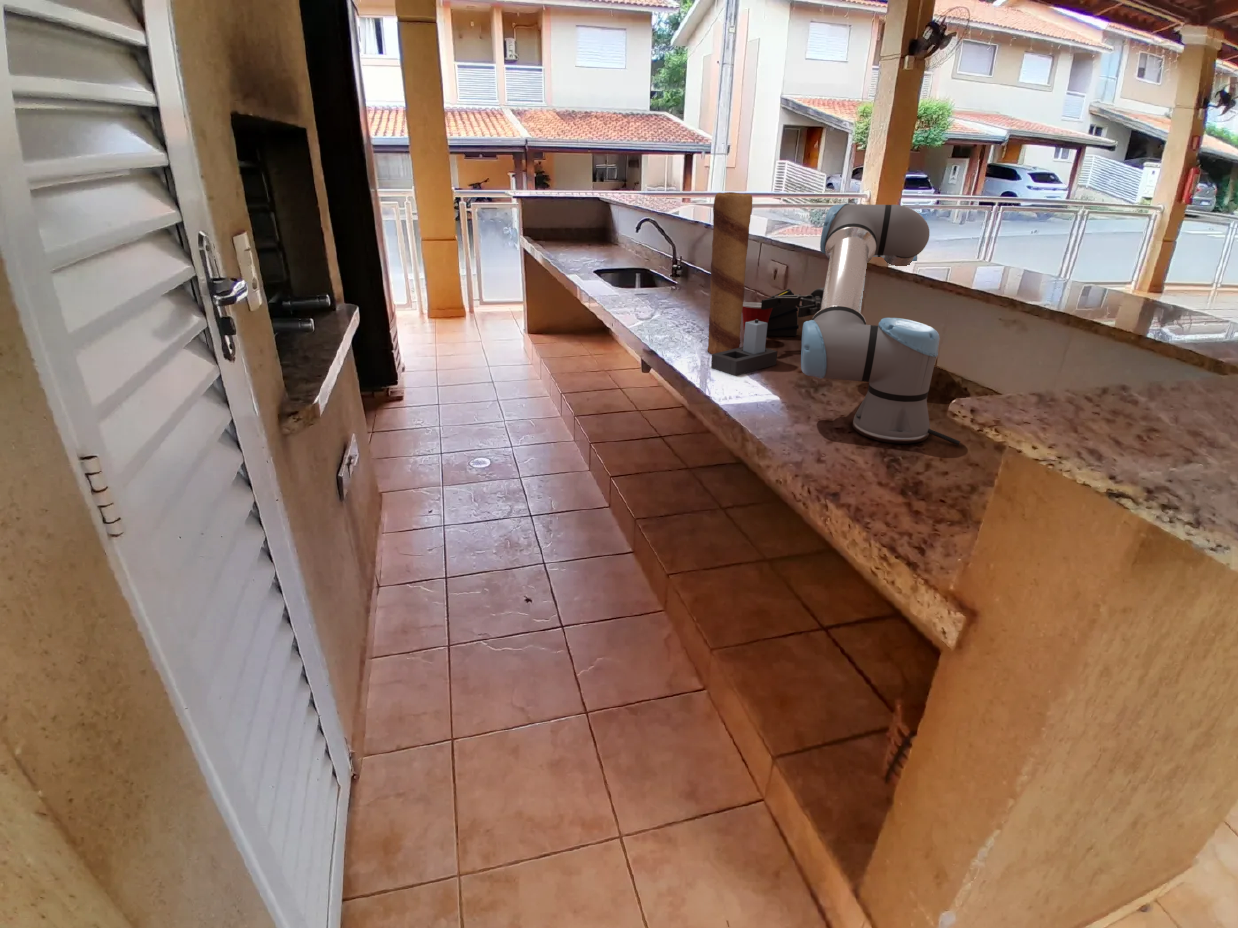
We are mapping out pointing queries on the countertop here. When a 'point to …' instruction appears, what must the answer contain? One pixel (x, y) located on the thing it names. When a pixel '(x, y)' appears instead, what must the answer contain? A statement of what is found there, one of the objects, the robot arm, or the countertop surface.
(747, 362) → the cinder block
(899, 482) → the countertop surface
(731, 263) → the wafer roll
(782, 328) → the magazine
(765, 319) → the plastic cup
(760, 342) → the grey rectangular block
